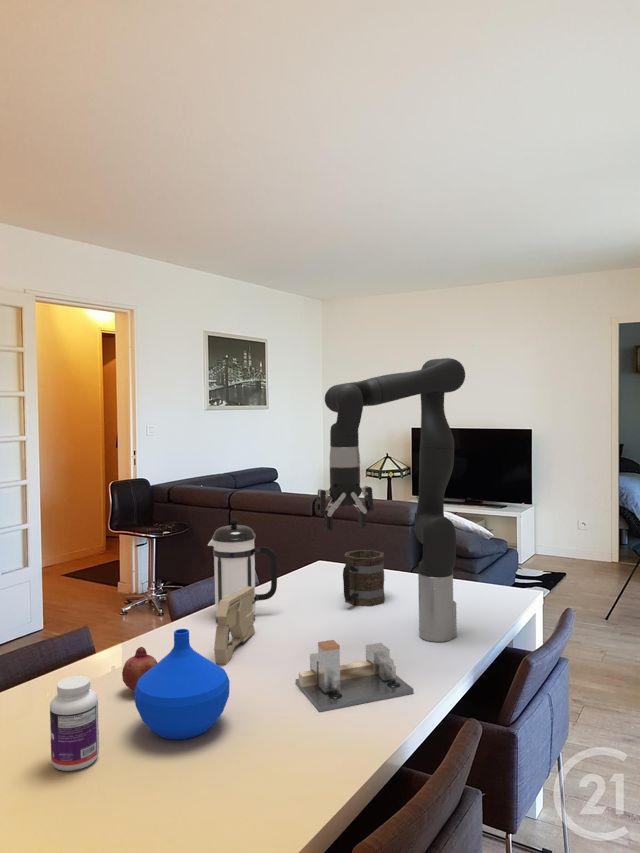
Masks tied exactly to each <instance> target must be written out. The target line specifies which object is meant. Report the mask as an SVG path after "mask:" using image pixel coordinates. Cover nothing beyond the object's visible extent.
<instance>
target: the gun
mask: <svg viewBox="0 0 640 853" xmlns="http://www.w3.org/2000/svg"><path fill="white" fill-rule="evenodd" d="M252 602H254V587H249V586H246V587H244V588H242V589H241V590H239V591H237V592H236V593H234V594H231V595H229V596H227V597H225V598H224V599H222V600H220V602H219V606H218V609H217V612H216V611H215V620H216V619H218V622H217V623H216V624H217V625H216V628H215V637H214V639H215V640H214V648H213V650H214V658H215V664H217V665H225V666H226V665H228V664H229V663H228V662H229V661H230V660H231V657H233V654H234V649H235V648H236V647H238V646H239V645H240V644H243V643H244V642H246V641H247V640H248V639H250V638H251V637H252V636H254V634H255V632H256V631H255V626H254V624H255V623H254V622H255V621H254V617H255V616H254V612H255V611H254V612H253V611H252ZM230 635H231V641H230Z"/></svg>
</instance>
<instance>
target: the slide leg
mask: <svg viewBox="0 0 640 853" xmlns="http://www.w3.org/2000/svg"><path fill="white" fill-rule="evenodd" d="M340 646H341V645H340V644H339V643H338V642H337V641H335V640H334V639H330V640H322V641H318V642H317V652H316V653H310V654H309V671H311V670H313V671H314V672H315V673H316V681H317V682H318V681H319V687H320V688H321V689H322V690H323V691H324V692H325V693H326V692H332V691H333V694H334V695H337V694H338V690H340V665H341V654H340V653H341V651H340V649H341V648H340Z"/></svg>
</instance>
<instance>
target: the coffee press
mask: <svg viewBox="0 0 640 853" xmlns="http://www.w3.org/2000/svg"><path fill="white" fill-rule="evenodd" d="M238 522H239V521H238V519H237V518H235V517H232V518H231V519H230V521H229V523H230V525H225V526H221V527H218V528H217V529H216V530H215V531H214V533H213V535H212V538H211V540H209V542H208V543H207V546H208V547H213V548H212V550H213V551H212V552H213V553H212V555H213V558H214V559H213V566H214V568H213V570H214V609H215V613H216V612H217V609H218V606H219V602H220V600H222V599H224V598H225V597H227V596H229V595H231V594H234V593H236V592H237V591H239V590H241V589H242V588H244V587H246V586H249V587H254V602H252V611H253V612H255V610H256V602H258V601H266V600H269V599H271V598H272V597H273V596H274V595H275V594H276V592H277V588H278V569H277V567H278V566H277V558H276V554H275V552H274V551H273V550H272V549H271V548H270V547H267V546H256V545H255V539H256V537H257V536H256V533H255V532H254V530H253V529H252V527H250V526H247V525H242V524H238ZM256 553H261V554H266V555H267V556H268V557H269V559H270V576H271V577H270V580H271V582H270V589H269V590H268V592H266V593H260V594H259V593H257V594H256V571H255V570H256V569H255V568H256V563H255V559H256V557H255V555H256ZM255 621H256V617H255V616H254V622H255ZM217 622H218V619H216V618H215V624H217Z"/></svg>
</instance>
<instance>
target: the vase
mask: <svg viewBox="0 0 640 853" xmlns="http://www.w3.org/2000/svg"><path fill="white" fill-rule="evenodd" d="M133 691H134V690H133ZM229 696H230V679H229V676H228V673H227V672H226V670H225V669H224V668H223V667H221V666H220V665H219V664H216V662H214V661H212V660H209V659H208V658H206V657H205V656H203V655H202V654H200V653H199V652H197V651H196V650H195V649H194V648H192V646H191V644H190V630H189V629H188V628H179V629H176V630H174V631H173V646H172V649H171V650H170V651H169V653H167V654H166V655H165V656H164V657H162V659H161V660H159V661H157V664H156V665H155V666H153V667H152V668H151V669H150V670H148V671H147V672H146V673H144V674H143V675H142V676H141V677H140V678H139V680H138V682H137V685H136V688H135V691H134V703H135V709H136V710H137V712H138V714H139V717H140V718H141V720H142V722H143V723H144V724H145V725H146V726H147V727H148V728H149V729H150V731H152V732H153V733H155V734H157V735H159V736H160V737H162V738H165V739H169V740H176V741H177V740H187V739H192V738H195V737H198V736H201V735H202V734H204V733H205V732H206V731H208V730H209V729H210V728H211V727H212V726H214V725H215V724H216V722H217V720H218V719H220V717H221V715H222V714H223V712H224V710H225V707H226V704H227V702H228V700H229Z"/></svg>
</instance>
